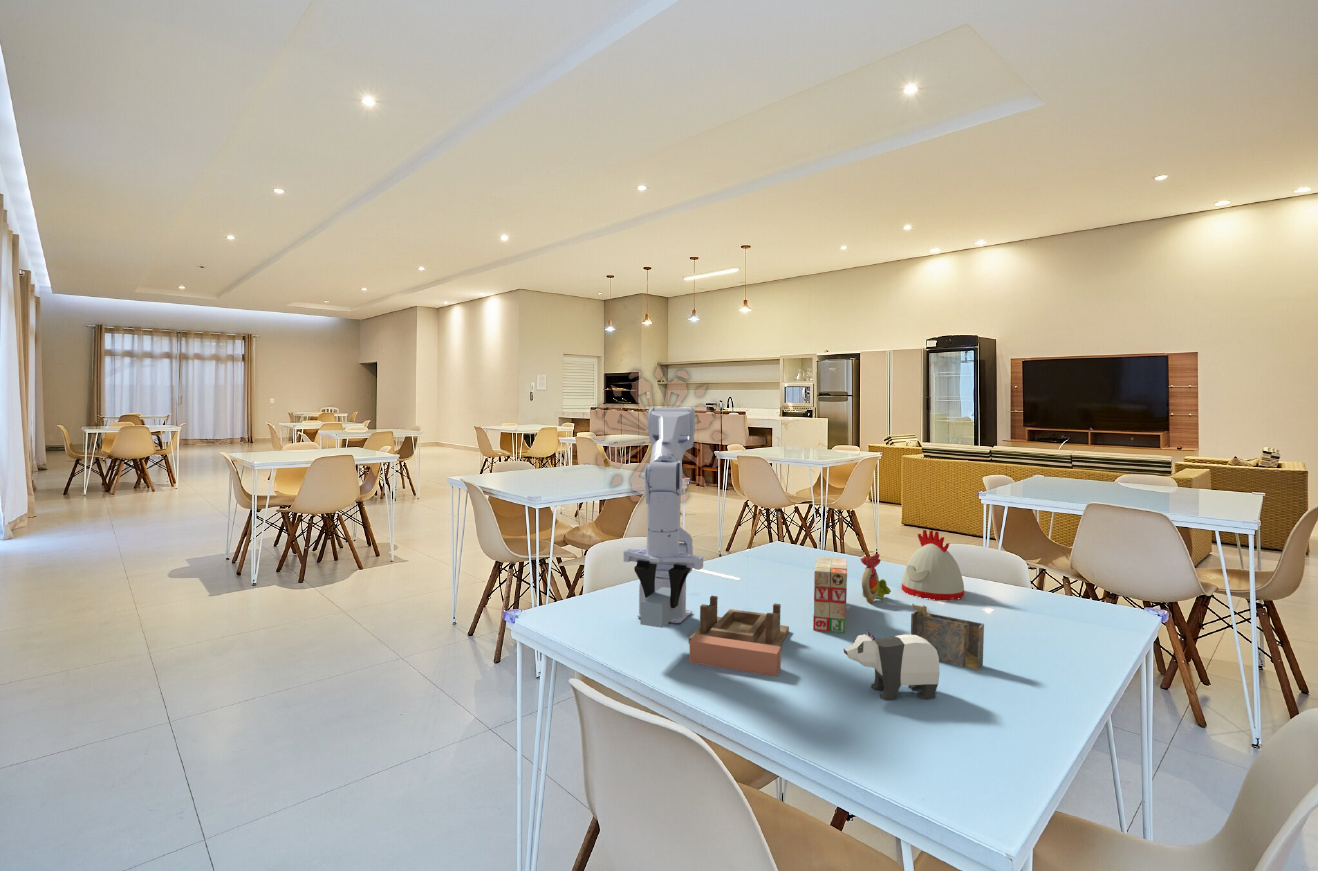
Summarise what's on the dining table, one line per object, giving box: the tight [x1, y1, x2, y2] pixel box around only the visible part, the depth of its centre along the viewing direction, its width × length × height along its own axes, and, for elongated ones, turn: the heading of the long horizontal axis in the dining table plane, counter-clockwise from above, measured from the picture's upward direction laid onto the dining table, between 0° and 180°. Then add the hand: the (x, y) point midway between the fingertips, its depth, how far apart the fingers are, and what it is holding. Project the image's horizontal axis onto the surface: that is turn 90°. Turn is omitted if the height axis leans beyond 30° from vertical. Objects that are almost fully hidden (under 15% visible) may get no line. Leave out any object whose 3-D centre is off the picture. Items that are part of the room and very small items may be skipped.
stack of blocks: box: [812, 556, 848, 635], centre depth 135 cm, size 21×6×12 cm, turn 164°
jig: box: [688, 595, 790, 647], centre depth 121 cm, size 16×14×6 cm
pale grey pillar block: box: [639, 587, 682, 628], centre depth 113 cm, size 4×10×4 cm, turn 158°
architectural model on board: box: [910, 603, 985, 671], centre depth 111 cm, size 11×3×10 cm, turn 52°
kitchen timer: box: [901, 529, 965, 601], centre depth 153 cm, size 14×14×15 cm
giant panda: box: [843, 629, 941, 701], centre depth 98 cm, size 15×6×10 cm, turn 93°
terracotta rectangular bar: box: [688, 634, 782, 677], centre depth 108 cm, size 15×4×4 cm, turn 68°
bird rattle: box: [860, 553, 892, 604], centre depth 146 cm, size 6×11×9 cm
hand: (662, 604), depth 113 cm, fingers closed on pale grey pillar block, 4 cm apart
